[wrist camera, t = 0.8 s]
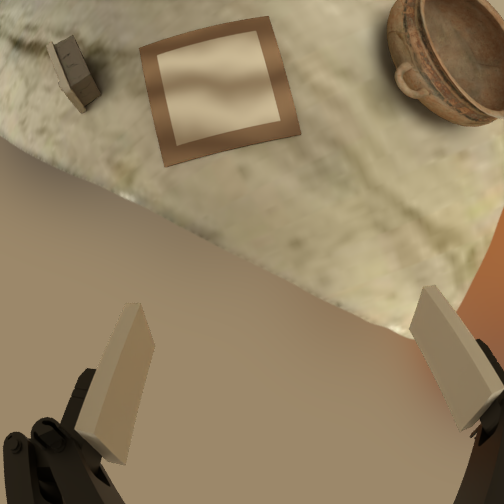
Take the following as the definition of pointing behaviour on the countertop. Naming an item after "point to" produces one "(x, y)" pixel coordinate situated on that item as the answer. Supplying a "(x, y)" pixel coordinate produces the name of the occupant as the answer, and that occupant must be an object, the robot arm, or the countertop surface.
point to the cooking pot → (450, 57)
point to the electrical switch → (73, 73)
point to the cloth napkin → (218, 90)
